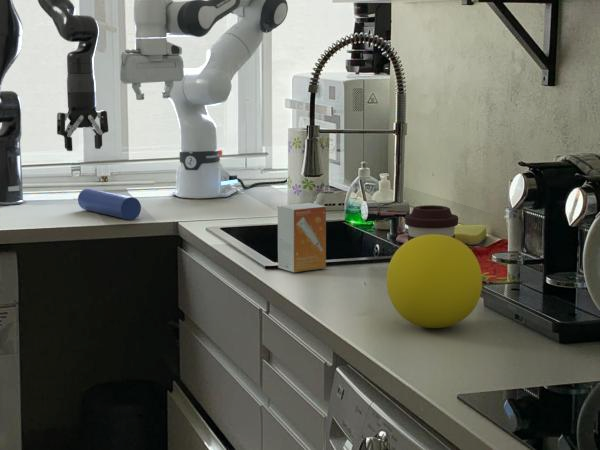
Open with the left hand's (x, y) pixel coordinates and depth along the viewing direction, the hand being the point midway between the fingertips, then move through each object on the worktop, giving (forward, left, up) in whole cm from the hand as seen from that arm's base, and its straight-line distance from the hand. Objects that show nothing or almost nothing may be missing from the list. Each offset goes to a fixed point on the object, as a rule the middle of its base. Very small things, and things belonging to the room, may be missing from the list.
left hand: (83, 149), depth 286 cm
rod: (+5, +4, -18) cm, 19 cm away
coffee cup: (+125, +6, -18) cm, 126 cm away
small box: (+96, -2, -18) cm, 98 cm away
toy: (+145, -15, -18) cm, 147 cm away
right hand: (+6, +19, +13) cm, 24 cm away
